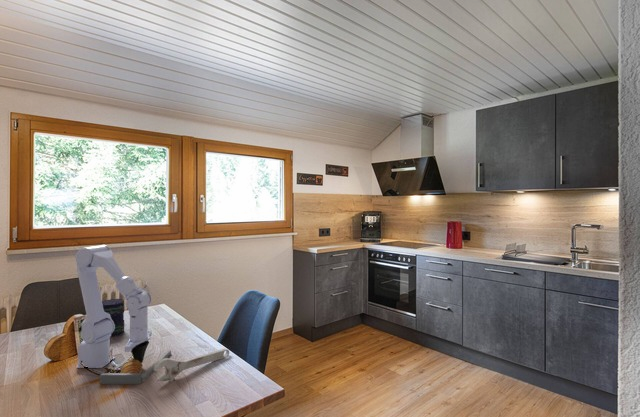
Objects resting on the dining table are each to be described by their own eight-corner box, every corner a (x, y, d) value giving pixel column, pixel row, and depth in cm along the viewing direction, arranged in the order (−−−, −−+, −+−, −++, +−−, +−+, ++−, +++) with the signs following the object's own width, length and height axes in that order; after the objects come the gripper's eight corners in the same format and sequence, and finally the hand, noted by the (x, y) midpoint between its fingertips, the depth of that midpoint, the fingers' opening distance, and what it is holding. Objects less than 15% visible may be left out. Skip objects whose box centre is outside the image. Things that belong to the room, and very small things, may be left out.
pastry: (141, 379, 114) (141, 368, 114) (118, 384, 111) (118, 372, 111) (142, 367, 122) (142, 357, 122) (121, 371, 119) (121, 361, 119)
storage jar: (94, 336, 152) (94, 303, 152) (114, 328, 161) (114, 297, 161) (109, 339, 148) (109, 305, 148) (129, 331, 157) (129, 300, 157)
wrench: (228, 363, 132) (154, 388, 107) (225, 362, 133) (151, 386, 108) (230, 342, 132) (157, 362, 108) (227, 341, 134) (154, 360, 109)
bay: (100, 383, 111) (100, 374, 111) (137, 353, 133) (137, 346, 133) (140, 384, 111) (140, 375, 111) (170, 353, 133) (170, 346, 133)
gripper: (138, 333, 115) (139, 372, 115) (159, 319, 129) (159, 354, 129) (118, 333, 115) (118, 372, 115) (141, 319, 129) (141, 354, 129)
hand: (138, 363), depth 122 cm, fingers closed
